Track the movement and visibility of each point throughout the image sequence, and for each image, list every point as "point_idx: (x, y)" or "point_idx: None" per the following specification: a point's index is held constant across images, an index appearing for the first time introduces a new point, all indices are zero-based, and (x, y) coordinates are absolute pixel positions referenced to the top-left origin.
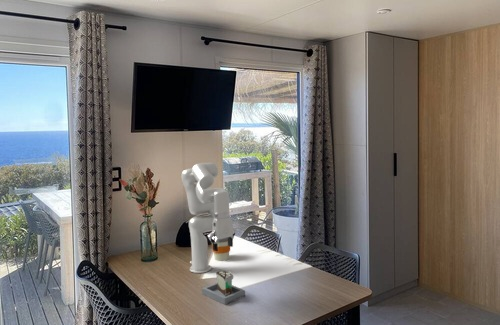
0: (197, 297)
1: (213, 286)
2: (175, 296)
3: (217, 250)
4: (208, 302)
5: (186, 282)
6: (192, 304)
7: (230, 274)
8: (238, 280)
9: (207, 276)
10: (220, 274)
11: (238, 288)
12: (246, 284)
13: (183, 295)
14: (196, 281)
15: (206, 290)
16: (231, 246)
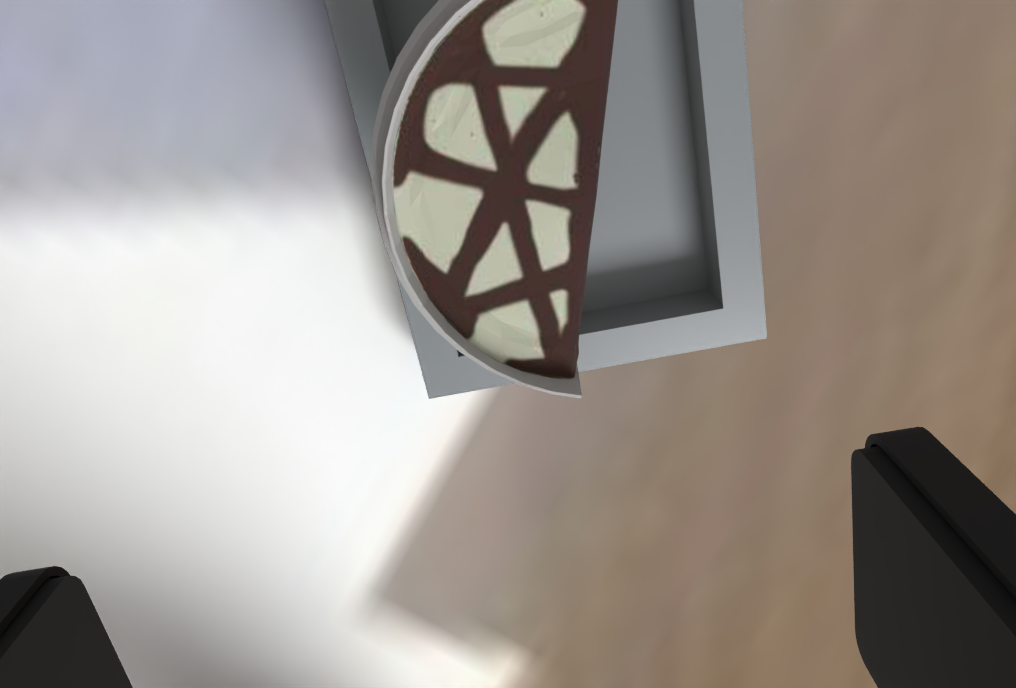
0: (845, 251)
1: (597, 325)
2: (1012, 418)
3: (889, 438)
4: (828, 25)
5: (712, 659)
6: (1013, 98)
7: (414, 140)
8: (179, 407)
9: (450, 677)
10: (583, 237)
11: (348, 12)
12: (132, 242)
13: (932, 393)
14: (614, 629)
15: (758, 242)
16: (71, 579)
